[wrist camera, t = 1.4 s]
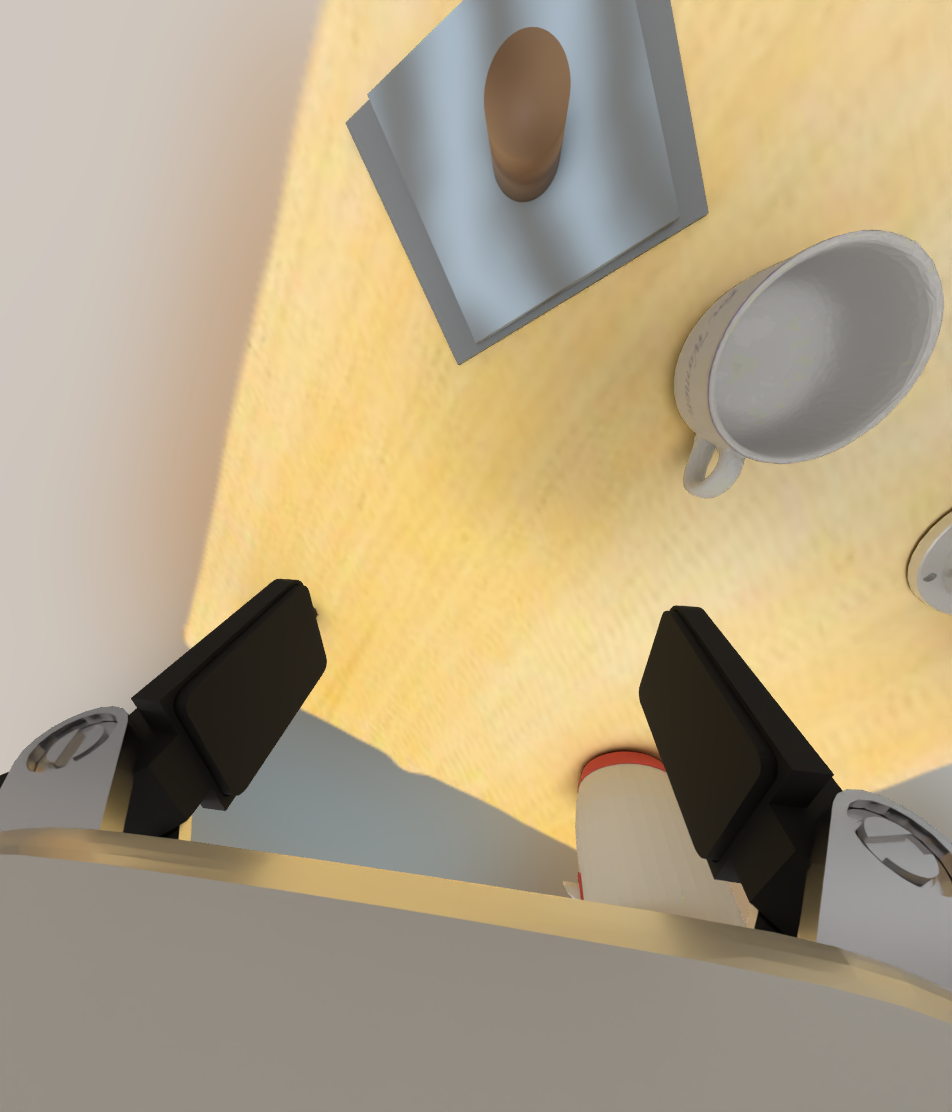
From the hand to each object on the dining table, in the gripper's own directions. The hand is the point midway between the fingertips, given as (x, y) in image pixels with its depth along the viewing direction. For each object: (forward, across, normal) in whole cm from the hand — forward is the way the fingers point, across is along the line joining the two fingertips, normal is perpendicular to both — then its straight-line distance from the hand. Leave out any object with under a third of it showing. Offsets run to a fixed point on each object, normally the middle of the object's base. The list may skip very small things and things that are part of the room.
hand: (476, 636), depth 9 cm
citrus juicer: (+24, -18, +43) cm, 52 cm away
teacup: (+24, -16, -6) cm, 29 cm away
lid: (+23, 0, -18) cm, 29 cm away
